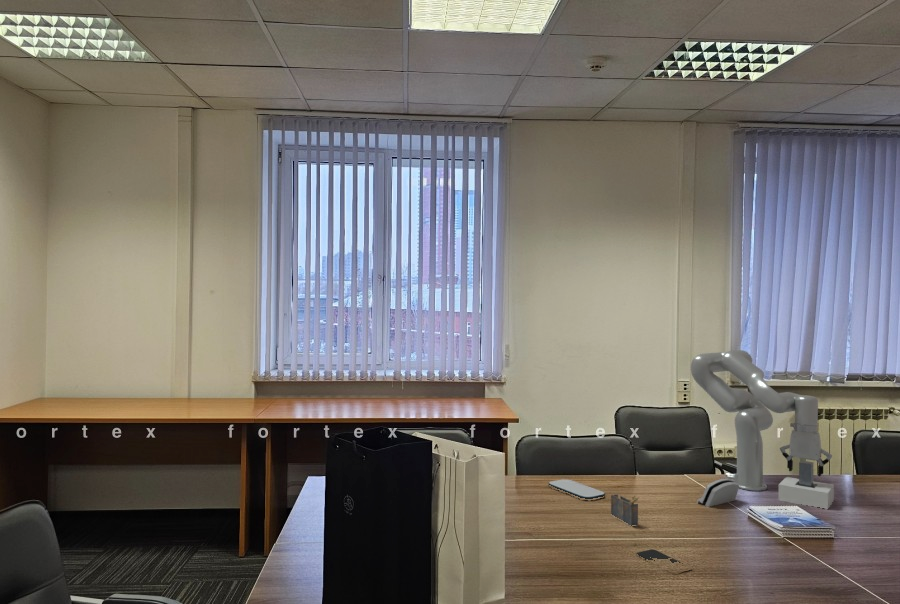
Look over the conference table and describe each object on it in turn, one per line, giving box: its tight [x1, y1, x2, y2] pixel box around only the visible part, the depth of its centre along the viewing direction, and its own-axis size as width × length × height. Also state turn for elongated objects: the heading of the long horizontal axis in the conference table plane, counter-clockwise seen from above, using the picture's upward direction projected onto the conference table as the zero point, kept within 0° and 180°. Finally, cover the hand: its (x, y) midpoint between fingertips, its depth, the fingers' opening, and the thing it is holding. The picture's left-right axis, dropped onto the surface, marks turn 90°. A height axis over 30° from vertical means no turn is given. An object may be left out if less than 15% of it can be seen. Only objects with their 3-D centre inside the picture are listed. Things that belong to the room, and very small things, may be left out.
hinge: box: [696, 478, 740, 508], centre depth 226 cm, size 17×5×10 cm, turn 121°
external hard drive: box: [548, 478, 606, 499], centre depth 238 cm, size 24×12×2 cm, turn 31°
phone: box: [636, 549, 684, 564], centre depth 172 cm, size 7×1×15 cm
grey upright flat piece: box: [610, 493, 639, 527], centre depth 205 cm, size 11×3×10 cm, turn 20°
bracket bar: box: [798, 460, 814, 488], centre depth 229 cm, size 4×4×14 cm
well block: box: [778, 476, 835, 510], centre depth 229 cm, size 16×14×6 cm
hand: (805, 473), depth 230 cm, fingers open, 9 cm apart
